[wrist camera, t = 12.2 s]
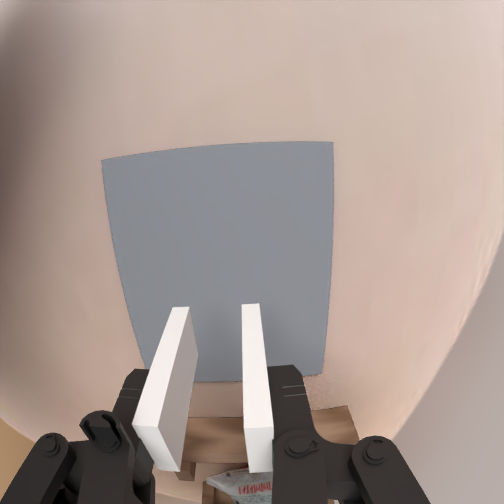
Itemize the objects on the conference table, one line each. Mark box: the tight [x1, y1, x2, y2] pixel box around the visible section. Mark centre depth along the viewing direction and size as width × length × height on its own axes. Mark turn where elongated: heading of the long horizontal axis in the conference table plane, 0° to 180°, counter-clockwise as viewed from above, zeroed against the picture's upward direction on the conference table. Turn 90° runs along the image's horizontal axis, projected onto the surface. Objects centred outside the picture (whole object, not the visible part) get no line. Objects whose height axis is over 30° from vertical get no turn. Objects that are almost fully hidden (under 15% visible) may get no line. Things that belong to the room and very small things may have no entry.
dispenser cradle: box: [174, 406, 359, 504], centre depth 23 cm, size 15×18×5 cm
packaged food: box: [206, 467, 273, 504], centre depth 24 cm, size 9×12×5 cm
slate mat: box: [101, 142, 334, 382], centre depth 18 cm, size 13×16×1 cm
